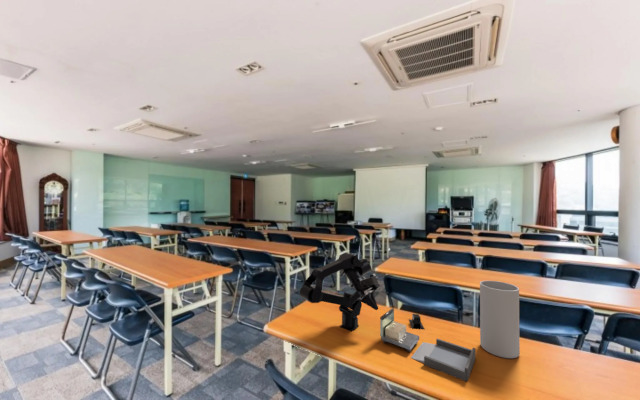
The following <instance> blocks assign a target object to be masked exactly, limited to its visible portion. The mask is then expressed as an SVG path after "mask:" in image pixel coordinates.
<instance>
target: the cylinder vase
mask: <svg viewBox="0 0 640 400" xmlns="http://www.w3.org/2000/svg"><path fill="white" fill-rule="evenodd" d="M479 325H480V328H479V329H480V331H479V333H480V334H479V335H480V340H479V344H480V346H481V347H482V348H483V350H484V351H486V352H488V353H489V354H491V355H493V356H495V357H499V358H502V359H516V358H518V357H520V352H521V351H520V348H521V347H520V345H521V344H520V288H519V287H518V286H516V285H515V284H512V283H509V282H508V283H507V282H504V281H498V280H482V281H480V282H479Z"/></svg>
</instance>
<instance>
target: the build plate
mask: <svg viewBox="0 0 640 400" xmlns="http://www.w3.org/2000/svg"><path fill="white" fill-rule="evenodd" d="M411 316H412V319H408V322H409V324H410V326H411V329H413V330H424V331H425V330H426V329H425V327H424V325H423V324H422V322H421V316H420V315H419V314H418V313H412V315H411Z"/></svg>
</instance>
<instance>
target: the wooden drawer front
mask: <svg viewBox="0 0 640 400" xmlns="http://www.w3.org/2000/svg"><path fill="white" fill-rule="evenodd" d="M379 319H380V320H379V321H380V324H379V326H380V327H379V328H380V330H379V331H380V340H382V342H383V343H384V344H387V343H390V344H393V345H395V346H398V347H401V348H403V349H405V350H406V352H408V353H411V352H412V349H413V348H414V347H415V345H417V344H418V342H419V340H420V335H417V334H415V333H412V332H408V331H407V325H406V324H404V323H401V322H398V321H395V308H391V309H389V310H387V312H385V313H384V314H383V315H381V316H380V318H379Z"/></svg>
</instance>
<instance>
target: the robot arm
mask: <svg viewBox="0 0 640 400" xmlns="http://www.w3.org/2000/svg"><path fill="white" fill-rule="evenodd" d="M340 271H341V272H340ZM371 271H372V266H371V265H370V263H369V262H368V259H366V258H362V259H361V260H360V259H359V258H358V256H357V254H353V253H349V252H344V253H343V254H341V255H340V256H339V257H338V259H336V260H334V261H332V262H330V263H327V264H324V265H322V266H320V267H318V268H314V269H313V270H312V271H311V273H310V275H309V276H307V278H306V279H305V280H304V283H303V284H302V285H301V286H302V287H301V288H300V290H299V296H300V298H302V299H303V300H305V301H307V302H309V303H311V304H319V303H321V302H323V303H329V304H333V305H338V309H339V312H341V324H340V326H339V327H340V328H342V329H345V330H347V331H350V332H353V331H354V330H356V329H357V328H358V327H359V326H360V325H359V322H358V321H359V318H358V316H360V315H361V311H362V305H363V304H365V305H366V306H368V307H369V308H372V309H373V310H375V311H377V310H379V306H378V304H377V301H376V300H377V299H376V296H375V293H376V291H377V290H378V289H379V288H381V285H380V284H379V281H378V280H379V277H378V276H377V275H376V273H372V274H371V273H370V274H369V277H365V276H364V275H366V274H367V273H369V272H371ZM339 272H340V276H341V277H343V276H344V275H345V277H346V278H347V280H348V281H349V283H350V287H351V288H354V289H355V292H353V293H350V292H345V291H344V292H343V295H340V294H336V293H331V292H327V291H323V286H324V280H325V278H328V277H329V276H331V275H333V274H336V273H339ZM314 282H315V286H312V284H314Z"/></svg>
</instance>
